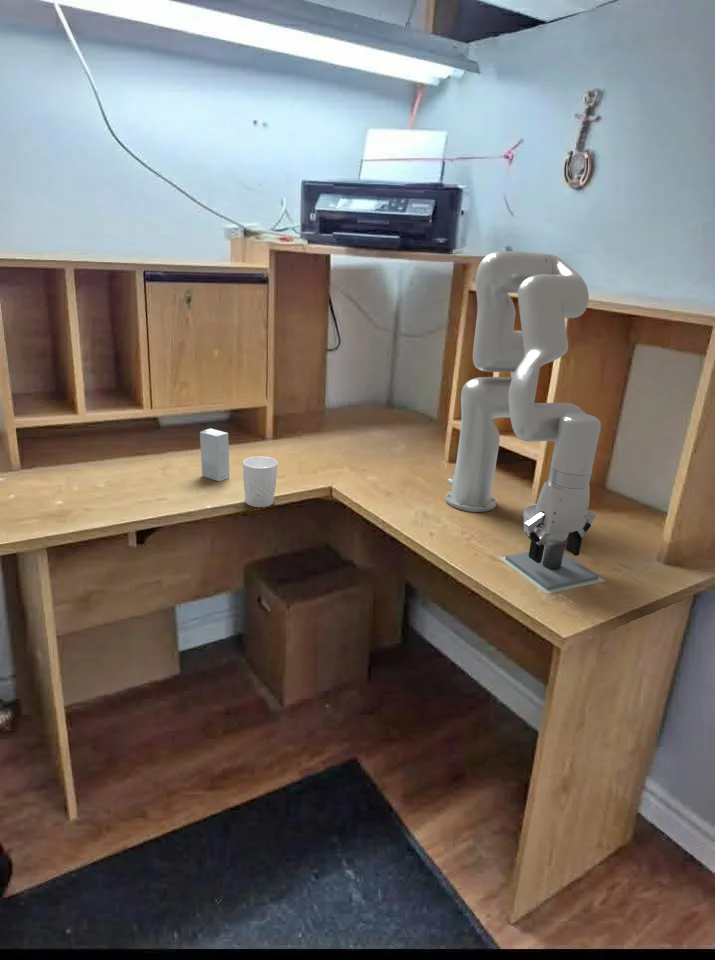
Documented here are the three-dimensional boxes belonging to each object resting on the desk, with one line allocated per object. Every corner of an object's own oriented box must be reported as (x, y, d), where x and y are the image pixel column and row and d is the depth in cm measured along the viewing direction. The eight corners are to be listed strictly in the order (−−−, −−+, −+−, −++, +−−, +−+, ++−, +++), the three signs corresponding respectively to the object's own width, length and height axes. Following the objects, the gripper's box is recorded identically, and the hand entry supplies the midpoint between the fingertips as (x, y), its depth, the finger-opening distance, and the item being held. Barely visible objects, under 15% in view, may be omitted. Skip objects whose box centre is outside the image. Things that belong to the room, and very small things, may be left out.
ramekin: (531, 547, 145) (535, 525, 144) (512, 525, 156) (516, 504, 154) (578, 546, 147) (583, 525, 145) (557, 524, 158) (561, 504, 156)
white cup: (266, 511, 153) (267, 470, 149) (236, 504, 155) (236, 463, 152) (282, 499, 160) (283, 460, 156) (253, 492, 162) (253, 454, 159)
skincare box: (230, 477, 170) (230, 432, 166) (218, 482, 167) (218, 436, 162) (212, 471, 173) (211, 427, 169) (200, 476, 169) (199, 431, 165)
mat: (498, 559, 138) (498, 557, 138) (553, 549, 145) (554, 547, 145) (546, 596, 126) (546, 593, 126) (604, 583, 132) (605, 580, 132)
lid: (505, 559, 138) (509, 534, 136) (553, 550, 143) (558, 525, 141) (547, 590, 127) (552, 563, 125) (597, 579, 133) (603, 553, 130)
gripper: (589, 466, 135) (573, 542, 141) (521, 474, 127) (507, 554, 134) (616, 479, 128) (599, 558, 135) (547, 489, 121) (531, 571, 127)
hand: (553, 556), depth 134 cm, fingers open, 9 cm apart
